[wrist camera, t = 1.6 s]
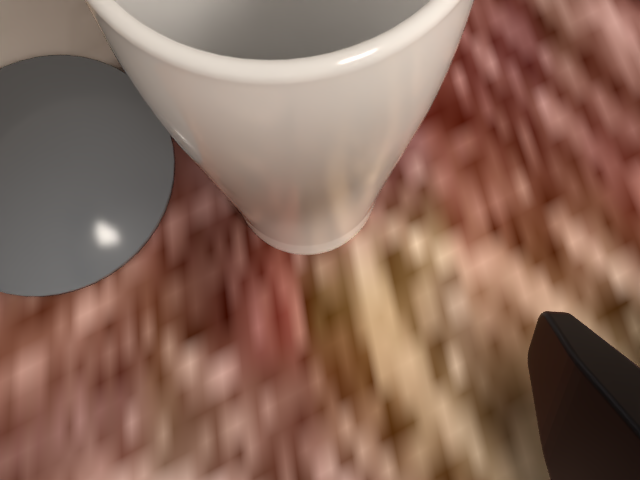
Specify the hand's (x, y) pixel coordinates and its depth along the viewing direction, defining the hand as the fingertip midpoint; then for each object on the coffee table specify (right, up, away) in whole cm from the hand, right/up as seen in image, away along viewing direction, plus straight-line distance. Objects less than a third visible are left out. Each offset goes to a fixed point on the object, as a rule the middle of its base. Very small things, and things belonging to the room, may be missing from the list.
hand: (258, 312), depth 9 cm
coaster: (-10, +4, +14) cm, 17 cm away
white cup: (0, +3, +14) cm, 14 cm away
